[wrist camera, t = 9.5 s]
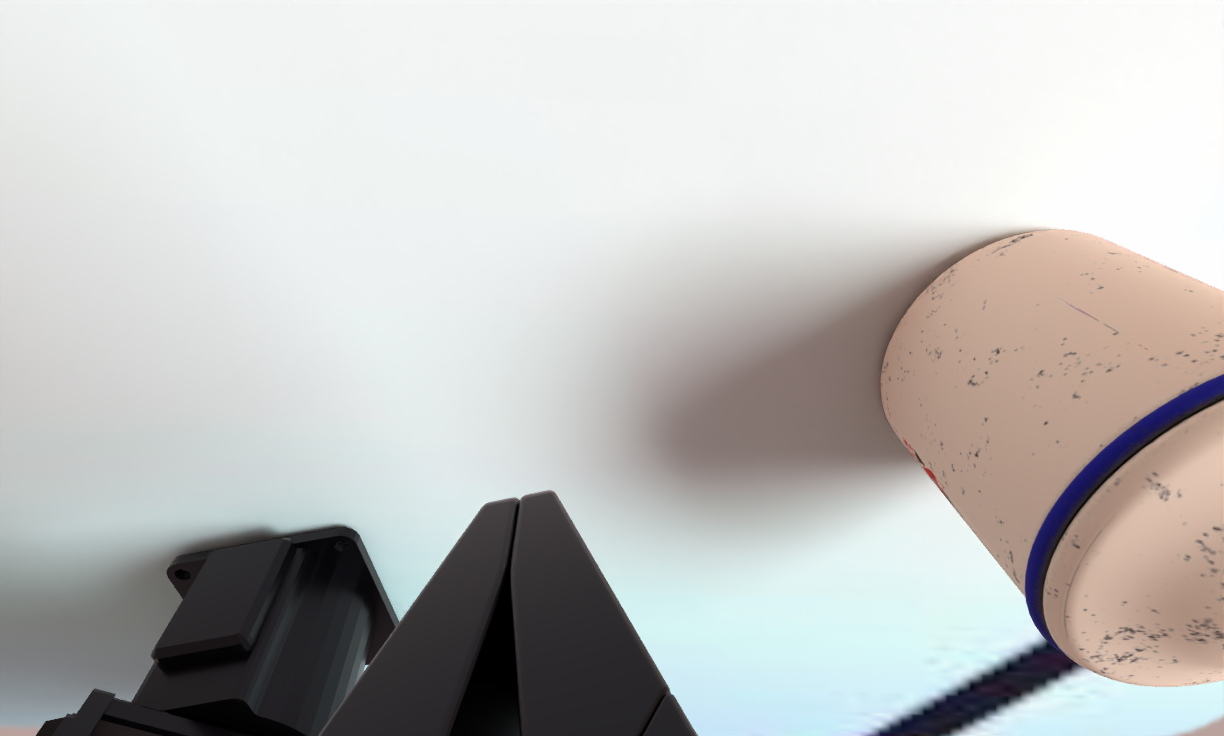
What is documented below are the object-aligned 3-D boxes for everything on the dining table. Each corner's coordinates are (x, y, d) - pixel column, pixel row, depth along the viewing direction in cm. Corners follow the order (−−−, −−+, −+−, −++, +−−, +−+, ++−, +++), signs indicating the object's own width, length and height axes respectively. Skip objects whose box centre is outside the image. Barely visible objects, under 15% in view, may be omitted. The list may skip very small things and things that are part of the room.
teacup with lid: (831, 453, 23) (1050, 803, 13) (931, 197, 19) (1364, 425, 9) (1127, 478, 25) (1515, 802, 15) (1278, 250, 21) (1959, 488, 11)
